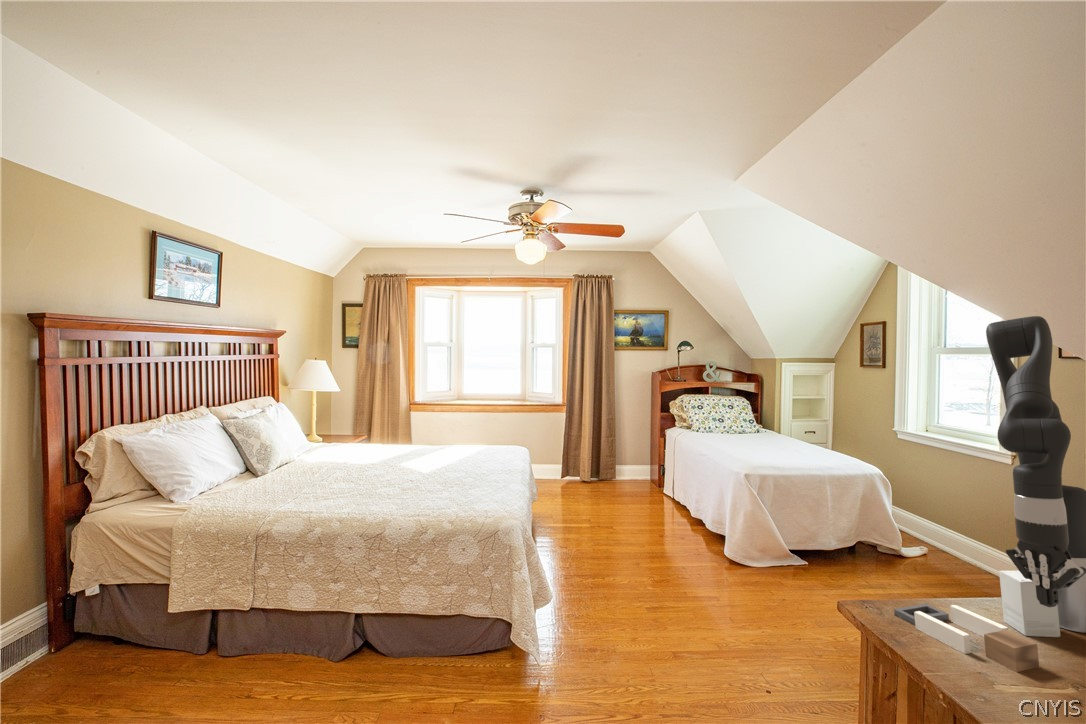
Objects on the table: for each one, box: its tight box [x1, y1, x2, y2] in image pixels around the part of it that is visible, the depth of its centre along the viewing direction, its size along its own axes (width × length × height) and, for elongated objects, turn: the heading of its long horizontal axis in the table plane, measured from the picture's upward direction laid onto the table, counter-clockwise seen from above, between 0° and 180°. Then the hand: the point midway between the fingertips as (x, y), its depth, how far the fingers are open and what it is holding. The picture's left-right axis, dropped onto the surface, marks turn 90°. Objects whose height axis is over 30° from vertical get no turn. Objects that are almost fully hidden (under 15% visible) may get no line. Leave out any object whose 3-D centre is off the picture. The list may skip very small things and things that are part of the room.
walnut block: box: [983, 630, 1040, 673], centre depth 108 cm, size 6×6×5 cm
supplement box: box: [998, 570, 1061, 638], centre depth 120 cm, size 7×7×13 cm
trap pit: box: [893, 603, 950, 626], centre depth 128 cm, size 10×6×2 cm, turn 101°
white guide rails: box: [914, 604, 1009, 655], centre depth 118 cm, size 12×12×4 cm
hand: (1047, 605), depth 100 cm, fingers closed
